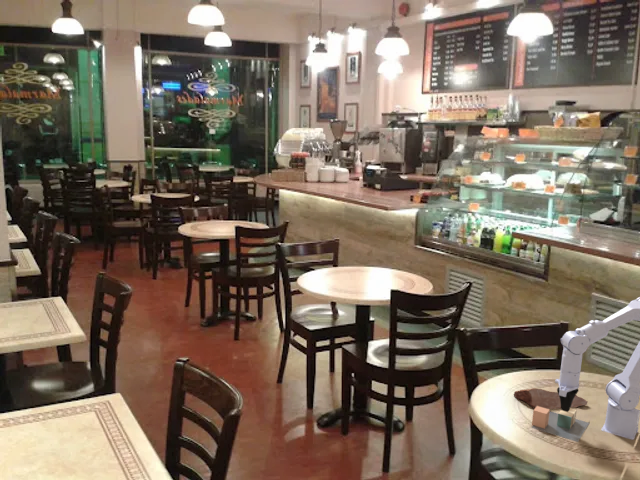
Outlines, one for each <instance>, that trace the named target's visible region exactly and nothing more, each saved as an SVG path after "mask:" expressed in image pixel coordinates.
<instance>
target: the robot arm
mask: <svg viewBox="0 0 640 480" xmlns="http://www.w3.org/2000/svg"><path fill="white" fill-rule="evenodd" d="M631 321H637V322H638V321H639V322H640V296H639V297H637V298H636V299H633V300H631V301H630V302H629V303H628V304H627V306H625V307H623V308H621V309H619V310H618V311H616V312H615V313H613V314H611V315H610V316H608V317H606V318H605V319H603V320H598V319H595V320H593V319H591V320H590V321H588V323H587V324H585V325H583V326H581V327H579V328H578V327H577V328H576V329H575V330H569V331H566V332H565V333H564V334H563V335H562V337H560V343H561V345H562V347H563V350H562V355H561V365H560V371H559V378H556V379H555V380H554V383H556V384H558V387H557V389H556V392H557V393H558V394H559V397H560V403H561V408H560V411H561V410H563V411H566V412H568V411H569V410H570V408H572V407H571V404H572V402H573V399H574V397H575V395H577V394H578V392H579V388H580V378H581V377H580V375H581V369H582V362H583V354H584V353H585V352H587V350H588V348H589V347H590V346H591V345H592V344H594V343H596V342H598V341H600V340H602V339H604V338H605V337H607V336H608V333H609V331H611V330H613V329H616V328H617V327H620V326H622V325H625V324H627V323H630V322H631ZM605 393H606V395H607V396H608V397H607V407H606V413H605V414H606V415H605V422H604V424H603V426H602V427H601V428H600V429H601V431H602V432H605V433H608V434H612V435H615V436H618V437H622V438H625V439H628V440H632V441H633V440H635V438H636V436H637V434H638V431H639V423H640V410H639V409H638V408H636V407H637V406H638V405H639V402H640V340H639V342H638V344H637V345H636V347H635V348H634V350H633V352H632V354H631V356H630V358H629V360H628V362H627V363H626V365H625V367H624V369H623V370H622V372H620V373H618V374H615V375H614V377H613V378H612V380H611V381H609V382H608V383H607V384H606V386H605Z"/></svg>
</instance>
